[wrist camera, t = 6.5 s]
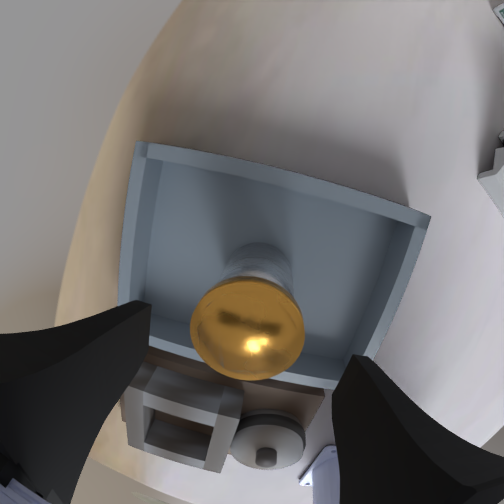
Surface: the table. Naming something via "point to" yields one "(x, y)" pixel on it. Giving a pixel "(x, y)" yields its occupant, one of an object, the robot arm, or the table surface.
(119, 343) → the robot arm
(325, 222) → the tray
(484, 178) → the grey toaster
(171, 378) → the board
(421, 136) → the table surface
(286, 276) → the gold-rimmed cylinder
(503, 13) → the syrup box
